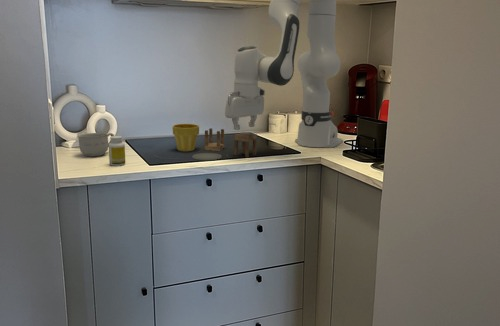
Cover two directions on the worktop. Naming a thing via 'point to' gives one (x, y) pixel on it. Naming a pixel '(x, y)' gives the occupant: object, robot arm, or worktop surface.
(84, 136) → the teacup
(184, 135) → the plant pot
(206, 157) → the mat
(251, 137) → the stool
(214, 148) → the upturned stool
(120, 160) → the supplement bottle
